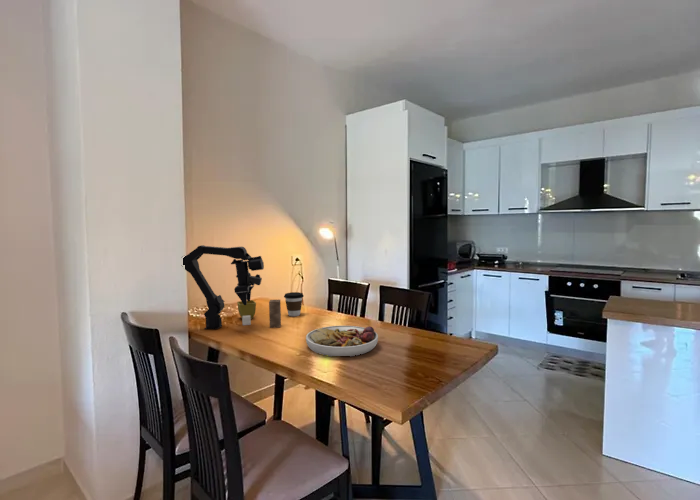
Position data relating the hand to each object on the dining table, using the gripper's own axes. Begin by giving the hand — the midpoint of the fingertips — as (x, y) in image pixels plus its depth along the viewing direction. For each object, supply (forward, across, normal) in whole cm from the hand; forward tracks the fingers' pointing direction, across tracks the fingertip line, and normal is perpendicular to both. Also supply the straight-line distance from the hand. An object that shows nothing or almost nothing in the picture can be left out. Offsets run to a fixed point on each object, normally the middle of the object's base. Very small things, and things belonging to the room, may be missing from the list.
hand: (247, 303), depth 187 cm
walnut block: (+14, 0, -12) cm, 18 cm away
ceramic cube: (+12, +6, +3) cm, 14 cm away
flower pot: (+12, +18, +5) cm, 22 cm away
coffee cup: (+15, +22, -20) cm, 33 cm away
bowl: (+18, -33, -43) cm, 58 cm away
